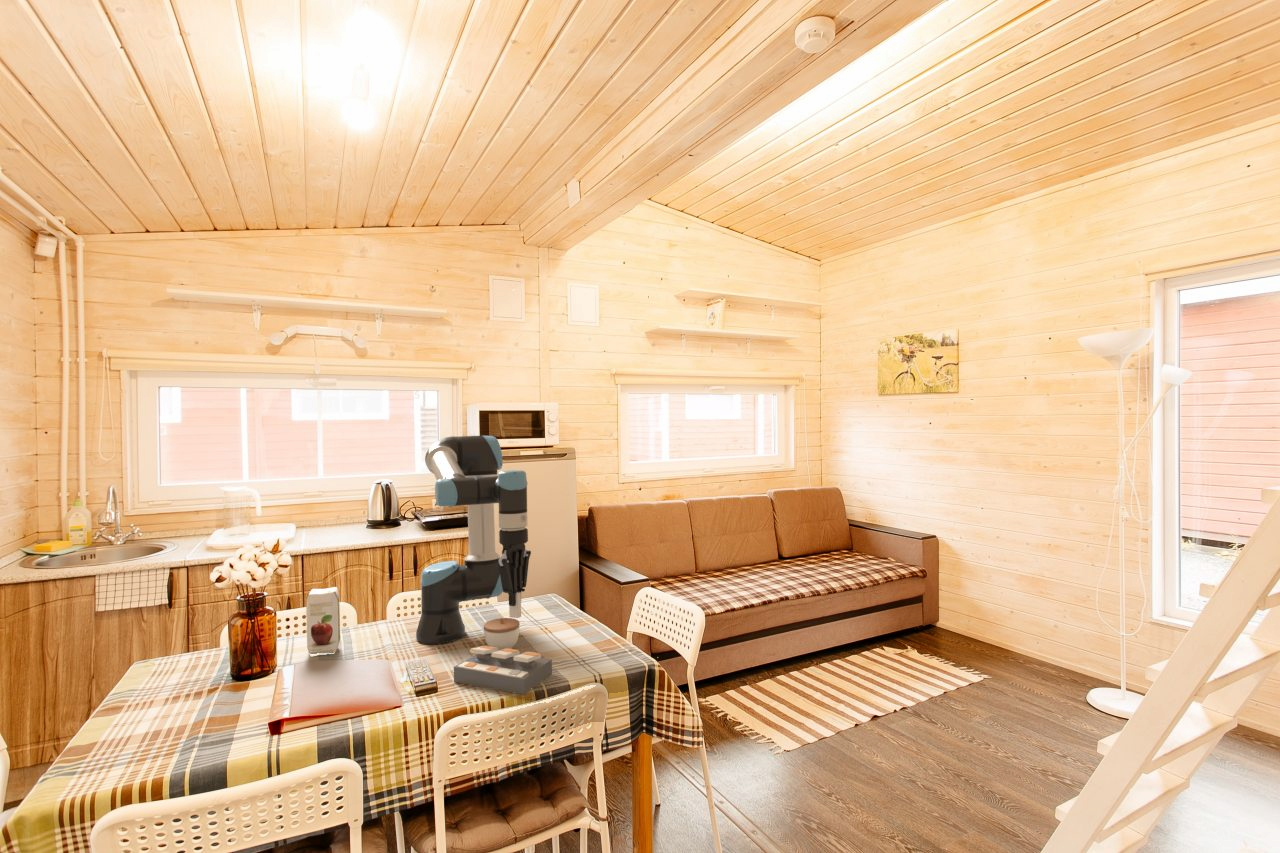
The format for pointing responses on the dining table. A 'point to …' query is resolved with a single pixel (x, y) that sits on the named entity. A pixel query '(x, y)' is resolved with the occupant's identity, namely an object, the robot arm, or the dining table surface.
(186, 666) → the dining table surface
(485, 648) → the switch
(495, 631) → the lidded jar
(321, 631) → the juice carton
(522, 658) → the switch
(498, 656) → the switch
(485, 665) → the switch unit
